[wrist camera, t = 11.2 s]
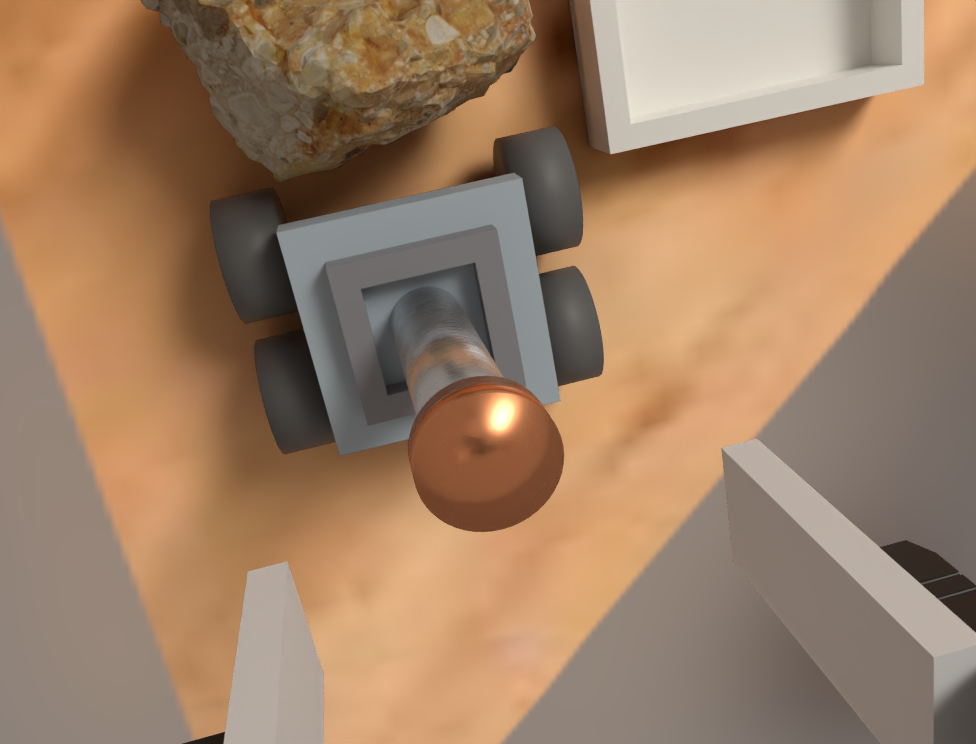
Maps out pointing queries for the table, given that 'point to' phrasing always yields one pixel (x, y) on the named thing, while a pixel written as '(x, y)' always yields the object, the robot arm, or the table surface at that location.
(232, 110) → the rock
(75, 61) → the table surface
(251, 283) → the trolley
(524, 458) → the pin
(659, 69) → the tray
